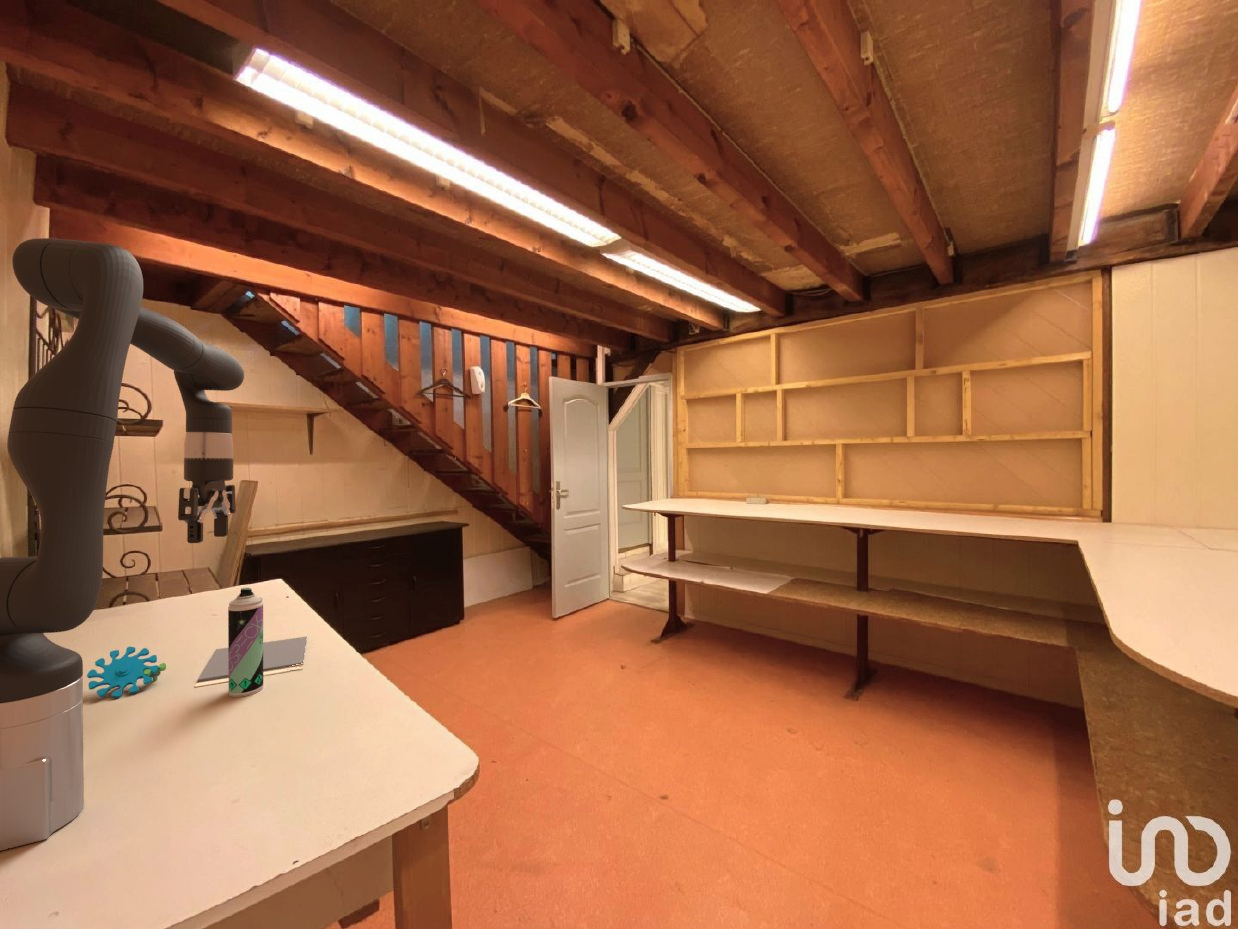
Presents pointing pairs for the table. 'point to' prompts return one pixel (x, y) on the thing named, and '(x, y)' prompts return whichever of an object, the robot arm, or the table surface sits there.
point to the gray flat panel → (273, 658)
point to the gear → (125, 672)
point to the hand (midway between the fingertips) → (208, 539)
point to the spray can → (245, 644)
